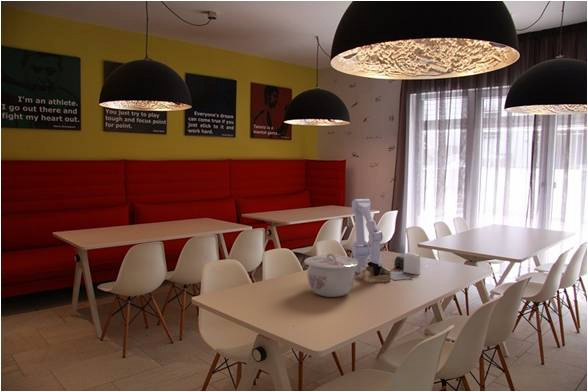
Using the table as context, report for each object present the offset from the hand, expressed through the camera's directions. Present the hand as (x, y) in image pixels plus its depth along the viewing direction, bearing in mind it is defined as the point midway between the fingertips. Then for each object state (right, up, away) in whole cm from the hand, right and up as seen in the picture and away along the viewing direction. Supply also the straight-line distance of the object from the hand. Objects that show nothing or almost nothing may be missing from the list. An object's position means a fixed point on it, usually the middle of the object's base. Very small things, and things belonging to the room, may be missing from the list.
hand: (374, 275), depth 262 cm
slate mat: (+14, -2, +6) cm, 15 cm away
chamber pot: (-27, -4, -27) cm, 39 cm away
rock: (+26, 0, +30) cm, 39 cm away
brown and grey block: (0, -2, 0) cm, 2 cm away
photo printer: (+25, -1, +14) cm, 29 cm away
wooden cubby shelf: (0, -2, 0) cm, 2 cm away
